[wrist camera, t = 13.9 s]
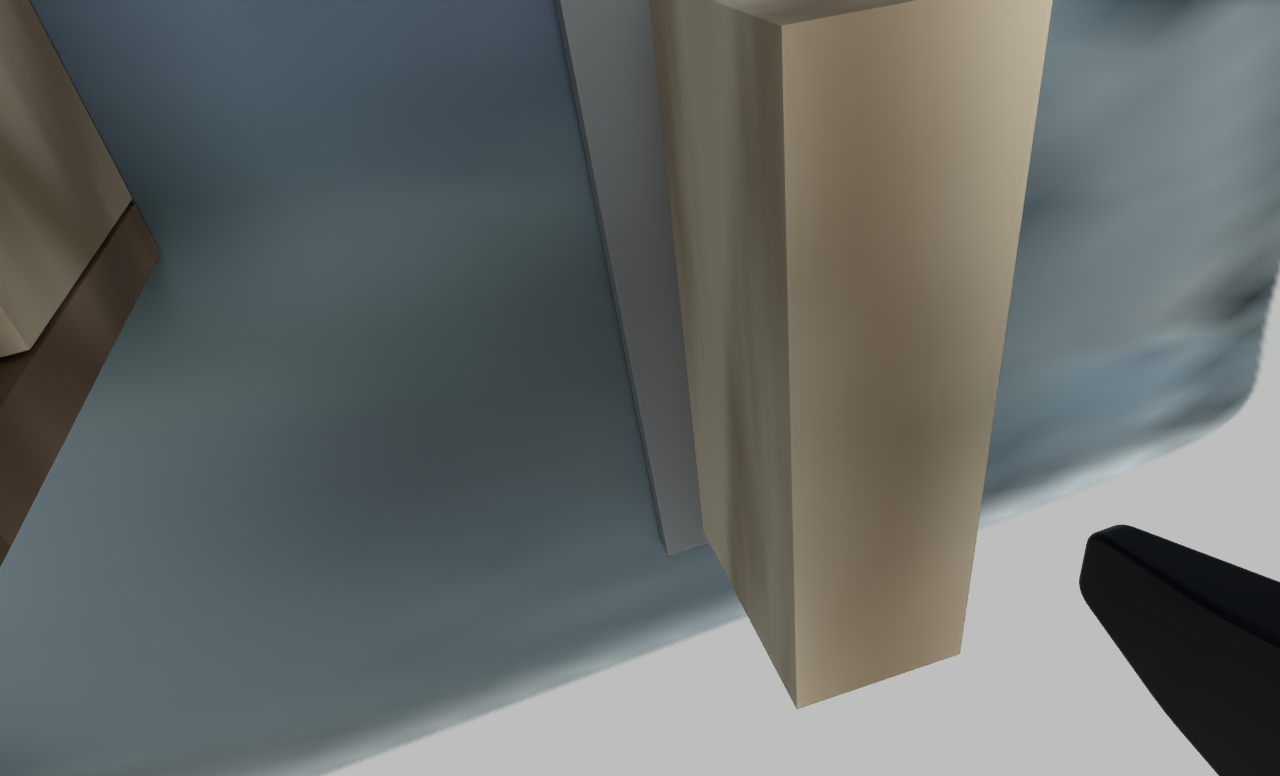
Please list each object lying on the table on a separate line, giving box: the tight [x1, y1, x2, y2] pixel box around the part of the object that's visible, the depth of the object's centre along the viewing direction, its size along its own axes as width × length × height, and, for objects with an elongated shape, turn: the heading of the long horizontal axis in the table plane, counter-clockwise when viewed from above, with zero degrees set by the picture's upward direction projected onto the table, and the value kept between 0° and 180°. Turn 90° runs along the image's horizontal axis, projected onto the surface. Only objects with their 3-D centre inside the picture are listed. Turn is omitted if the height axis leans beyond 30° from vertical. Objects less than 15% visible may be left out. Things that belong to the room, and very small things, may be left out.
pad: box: [555, 0, 709, 557], centre depth 20 cm, size 16×7×1 cm, turn 10°
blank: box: [649, 0, 1053, 709], centre depth 17 cm, size 4×14×6 cm, turn 8°
